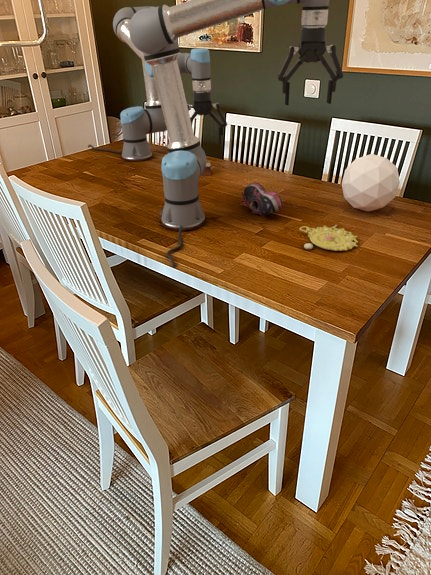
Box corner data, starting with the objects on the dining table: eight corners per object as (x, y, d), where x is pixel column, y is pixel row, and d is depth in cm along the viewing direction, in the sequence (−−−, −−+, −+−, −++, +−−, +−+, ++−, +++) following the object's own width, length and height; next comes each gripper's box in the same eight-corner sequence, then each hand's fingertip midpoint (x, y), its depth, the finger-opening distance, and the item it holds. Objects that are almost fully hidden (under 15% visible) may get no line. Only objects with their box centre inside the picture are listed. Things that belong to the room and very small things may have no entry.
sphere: (373, 230, 162) (391, 201, 143) (326, 202, 166) (337, 171, 147) (398, 193, 166) (419, 160, 148) (352, 167, 171) (366, 133, 152)
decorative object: (343, 255, 128) (285, 234, 139) (342, 262, 130) (284, 241, 140) (372, 230, 142) (317, 213, 152) (371, 237, 143) (316, 219, 153)
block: (199, 172, 203) (199, 163, 200) (210, 171, 203) (210, 162, 201) (199, 175, 198) (199, 166, 196) (210, 175, 198) (210, 166, 196)
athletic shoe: (254, 181, 170) (227, 189, 167) (283, 176, 151) (253, 185, 147) (260, 210, 173) (234, 218, 170) (290, 209, 154) (261, 219, 150)
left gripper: (171, 93, 179) (175, 147, 190) (232, 91, 179) (233, 144, 190) (172, 91, 185) (176, 142, 196) (231, 88, 185) (232, 140, 196)
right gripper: (273, 28, 127) (270, 107, 138) (359, 26, 127) (349, 104, 139) (269, 27, 133) (267, 102, 145) (351, 25, 134) (343, 100, 145)
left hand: (204, 143), depth 193 cm, fingers open, 13 cm apart
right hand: (307, 103), depth 142 cm, fingers open, 13 cm apart
